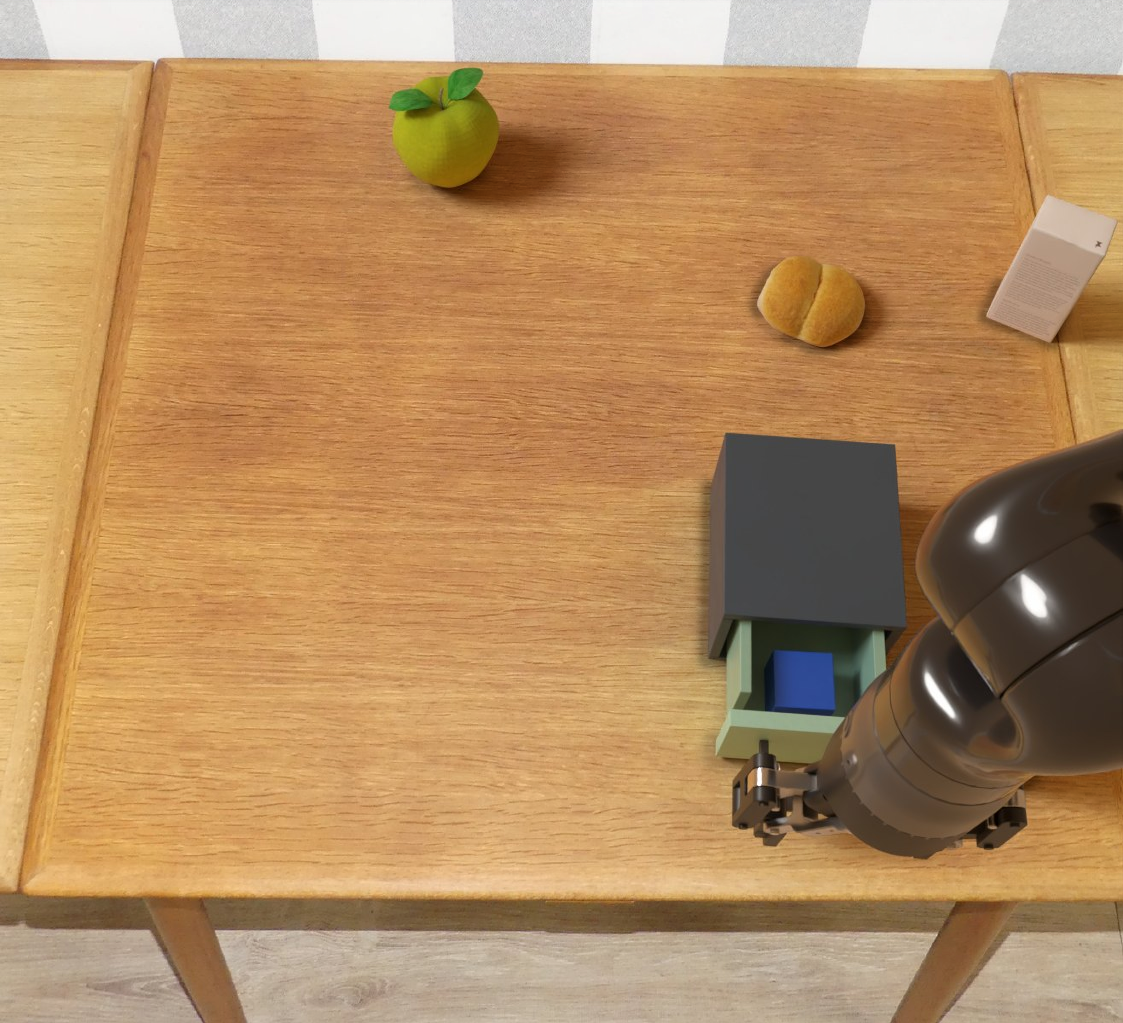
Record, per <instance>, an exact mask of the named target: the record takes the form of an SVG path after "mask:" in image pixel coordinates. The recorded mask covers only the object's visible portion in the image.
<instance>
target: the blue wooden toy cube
mask: <svg viewBox="0 0 1123 1023" xmlns="http://www.w3.org/2000/svg"><path fill="white" fill-rule="evenodd" d="M764 689H765V712H778V713H792V714H806V715H819V716H832V714H833V713H834V711H835V710H836V707H835V688H834V669H833V654H832V653H818V652H800V651H783V650H773V652H772V654H771V656H770V658H769V660H768V663H767V665H766V667H765V669H764Z"/></svg>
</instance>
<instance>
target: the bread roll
mask: <svg viewBox="0 0 1123 1023" xmlns="http://www.w3.org/2000/svg"><path fill="white" fill-rule="evenodd" d="M756 306H757V308H758V311H759V313H761V315H762V316H763V318H764V320H765V321H766V322H767V323H768V324H769V326H770V327H771V328H773V329H774V330H776V331H777V332H779V333H781V334H783V335H786V336H788V337H791V338H794V339H797V340H800V341H802V342H804V343H806V344H809V345H812V346H815V347H819V348H825V347H826V348H827V347H830V346H833V345H835V344H837V343H840V342H841V341H843V340H846V338H848V337H850V336H851V335H852V334H854V333H855V332H856V330H857V329H858V328H859V327H860V325H861V323H862V321H863V317H864V314H865V309H866V301H865V297H864V292H863V290H862V287H861V286H860V284H859V283H858V282H857V280H856V278H854V277H853V276H852V274H851V273H850V272H848V270H846V269H844V268H842V267H839V266H838V265H833V264H826V263H822V262H819V261H817V260H816V259H814V258H812V257H810V256H806V255H794V256H790V257H786V258H784V259H783V260H782V261H780V262H779V263H778V264H777V265H776V266H775V267H773V269H771V271H770V274H769V276H768V277H767V279H766V281H765V283H764V286H763V288H762V290H761V292H760V294H759V296H758V299H757V302H756Z"/></svg>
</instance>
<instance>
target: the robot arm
mask: <svg viewBox="0 0 1123 1023" xmlns="http://www.w3.org/2000/svg"><path fill="white" fill-rule="evenodd" d="M914 573H915V578H916V581H917V583H918V585H919V587H920V590H921V592H922V594H923V596H924V597H925V598H926V600H927V602H928V603H929V605H930V606H931V608H932V609H933V611H934V612H935V613H936V616H934V617H933V618H932V619H930V620H929V621H927V622H926V623H925V624H924V625H922V627H921V628H919V629H918V630H917V632H916V633H915V634H914V635H913V636H912V638H911V639H910V640H909V641H908V642H907V643H906V645H905V647H904V648H903V649H902V650H901V652H900V653H899V655H897V657H896V658H895V660H894V661H893V663H892V664H891V665H890V667H887V668H886V670H885V671H884V672H883V673H881V674H880V675H879V676H878V677H877V678H876V679H875V680H874V681H873V682H872V683H871V684H870V685H869V686H868V687H867V689H866V690H865V691H864V693H863V694H862V696H861V697H860V698H859V700H858V701H857V702H856V704H855V705H854V706H853V708H852V709H851V710H850V712H849V713H848V714H847V716H846V717H845V718H844V720H843V721H842V722H841V724H840V725H839V727H838V728H837V729H836V731H835V732H834V734H833V735H832V737H831V739H830V741H829V743H828V745H827V747H826V750H825V752H824V755H823V757H822V760H820V761H818V762H814V763H811V764H810V763H808V765H806V766H804V767H799V768H796V769H795V770H794V771H793V770H792V771H791V770H784V769H783V770H782V769H781V764H780V763H779V762H777V761H776V756H775V755H773V754H769V753H766V752H761V753H758V754H754V755H752V757H751V758H750V759H747V762H745V764H744V765H743V767H741V769H740V770H739V771H738V773H736V775H735V777H734V778H733V779H732V782H731V784H732V785H731V786H732V791H731V792H732V793H731V826H732V827H734V828H737V829H739V830H741V831H742V830H743V831H744V830H749V829H752V830H753V831H752V832H753V836H754V838H759V839H762V846H764V847H773V848H774V847H775V848H776V847H777V846H778V845H779V844H780V842H781V841H782V840H783V839H784V838H785V836H787V834H788V833H796V834H799V835H803V836H806V837H809V838H815V839H816V838H820V837H827V836H832V835H837V834H842V833H846V834H848V835H852V836H854V837H855V838H856V839H858V840H859V841H861V842H862V843H864V844H865V845H867V846H869V847H870V848H873V849H875V850H877V851H879V852H882V853H884V854H888V855H892V856H897V857H905V858H913V859H914V860H915V859H916V860H928V859H930V858H931V857H932V856H934V855H935V854H936V853H939V852H942V851H944V850H945V849H946V850H949V851H954V850H957V849H960V848H963V847H964V840H975V842H976V843H975V844H976V847H977V848H979V849H983V850H985V851H993V850H995V849H998V848H1001V847H1003V845H1004V844H1006V843H1007V842H1008V841H1010V840H1011V839H1012V838H1013V837H1015V836H1016V835H1018V833H1020V832H1021V831H1022V830H1024V828H1026V827H1027V826H1028V816H1027V803H1026V795H1025V794H1026V793H1025V786H1024V784H1025V783H1026V782H1028V781H1029V780H1030V779H1031V778H1033V777H1035V776H1041V777H1042V776H1044V777H1047V776H1048V777H1068V776H1069V777H1070V776H1072V777H1074V776H1082V775H1091V774H1098V773H1105V772H1111V771H1116V770H1121V769H1123V428H1121V429H1118V430H1115V431H1112V432H1110V433H1107V434H1104V435H1100V436H1098V437H1094V438H1092V439H1090V440H1086V441H1082V442H1080V443H1077V444H1073V445H1069V446H1067V447H1063V448H1060V449H1056V450H1053V451H1050V452H1047V453H1044V454H1041V455H1037V456H1034V457H1031V458H1028V459H1025V460H1022V461H1019V462H1016V463H1014V464H1011V465H1009V466H1006V467H1004V468H1001V469H998V470H995V471H993V472H991V473H987V474H986V475H984V476H982V477H980V478H978V479H976V480H974V481H972V482H970V483H969V484H967V485H966V486H964V487H962V488H961V489H960V490H958V491H957V492H955V493H954V494H953V495H951V497H949V498H948V499H946V501H945V502H944V503H943V504H942V505H941V506H940V507H939V508H938V509H937V510H936V512H935V513H934V514H933V516H932V517H931V518H930V520H929V521H928V523H927V525H926V527H925V528H924V530H923V532H922V534H921V536H920V537H919V541H918V544H917V548H916V550H915V556H914ZM788 796H792V812H791V813H790V815H788V814H787V813H788V812H787V803H786V797H788ZM818 812H819V813H820V814H818ZM787 815H788V816H787ZM819 815H822V816H823V817H825V818H819Z"/></svg>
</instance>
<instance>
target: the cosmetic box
mask: <svg viewBox="0 0 1123 1023" xmlns="http://www.w3.org/2000/svg"><path fill="white" fill-rule="evenodd" d="M1118 222H1119V221H1118V219H1116V218H1113V217H1110V216H1107V215H1104V214H1101V213H1099V212H1097V211H1093V210H1090V209H1088V208H1085V207H1082V206H1080V205H1078V204H1074V203H1072V202H1070V201H1066V200H1063V199H1061V198H1058V197H1056V196H1053V195H1050V194H1047V195H1046V197H1045V198H1044V199H1043V202H1042V204H1041V206H1040V208H1039V209H1038V212H1037V213H1036V215H1035V218H1034V219H1033V222H1031V225H1030V227H1029V229H1028V231H1027V232H1026V234H1025V236H1024V239H1023V241H1022V242H1021V245H1019V248H1018V250H1017V252H1016V254H1015V256H1014V258H1013V260H1012V262H1011V263H1010V265H1009V267H1008V268H1007V271H1006V273H1005V275H1004V277H1003V279H1002V280H1001V282H1000V284H999V287H998V289H997V291H996V293H995V295H994V297H993V300H992V301H991V304H990V306H989V308H988V311H987V313H986V318H988V319H989V320H993V321H995V322H998V323H1000V324H1002V325H1004V326H1007V327H1009V328H1012V329H1015V330H1018V331H1020V332H1022V333H1025V334H1027V335H1029V336H1031V337H1034V338H1036V339H1039V340H1041V341H1043V342H1046V343H1049V344H1051V343H1052V342H1053V340H1054V339H1055V337H1056V336H1057V334H1058V332H1059V331H1060V329H1061V327H1062V326H1063V324H1064V323H1065V321H1066V319H1067V318H1068V316H1069V315H1070V313H1071V312H1072V310H1073V308H1074V307H1075V305H1076V304H1077V303H1078V301H1079V299H1080V297H1081V296H1082V294H1083V292H1084V291H1085V289H1086V288H1087V286H1088V285H1089V283H1090V281H1091V279H1092V278H1093V277H1094V275H1095V273H1096V272H1097V269H1098V268H1099V267H1100V265H1101V264H1102V262H1103V260H1104V259H1105V257H1106V255H1107V253H1108V250H1109V247H1110V244H1111V242H1112V239H1113V236H1114V234H1115V231H1116V229H1117V226H1118Z"/></svg>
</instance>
